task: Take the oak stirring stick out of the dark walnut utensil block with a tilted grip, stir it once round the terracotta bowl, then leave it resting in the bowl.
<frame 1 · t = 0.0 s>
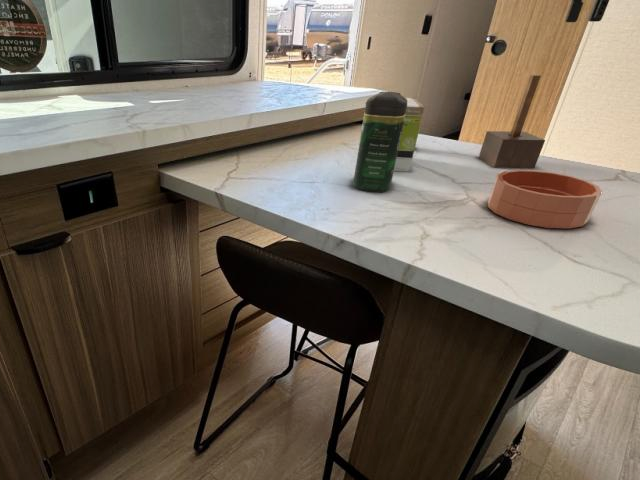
hand: (581, 21, 90), 30 cm above the table, tool pointing down, fingers open, 8 cm apart
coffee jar: (371, 187, 90), on the table
stirring stick: (519, 122, 100), in a hole of the utensil block
tea box: (385, 164, 106), on the table
utensil block: (504, 164, 105), on the table
bowl: (533, 214, 77), on the table
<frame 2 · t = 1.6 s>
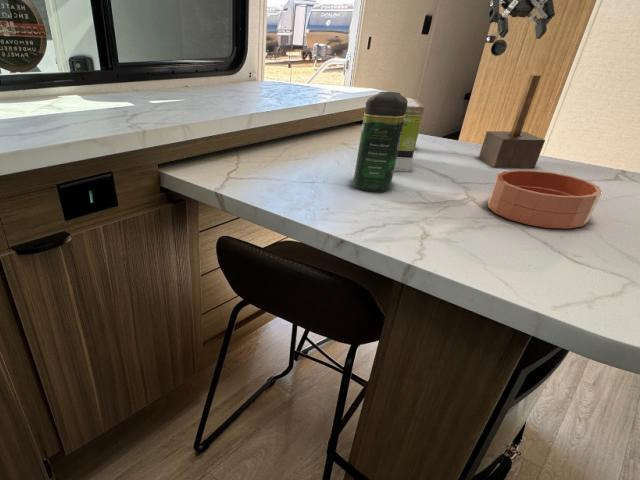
hand: (522, 35, 99), 27 cm above the table, tool tilted 45°, fingers open, 8 cm apart
nothing on the table moved.
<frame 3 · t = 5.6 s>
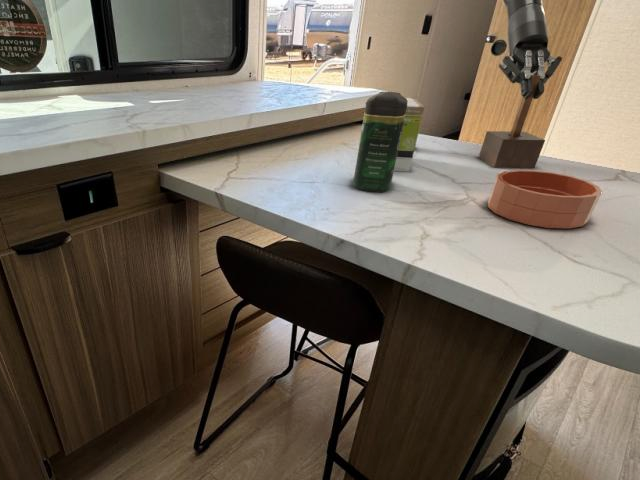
hand: (533, 96, 95), 16 cm above the table, tool tilted 45°, fingers closed on stirring stick, 1 cm apart
stirring stick: (519, 122, 100), in a hole of the utensil block, touching gripper
everything else where it was.
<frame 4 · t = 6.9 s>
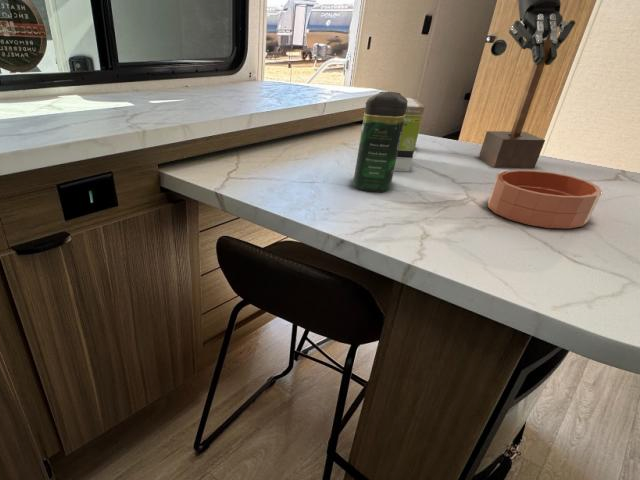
hand: (545, 61, 91), 23 cm above the table, tool tilted 45°, fingers closed on stirring stick, 1 cm apart
stirring stick: (530, 90, 96), point 17 cm above the table, touching gripper
everything else where it was.
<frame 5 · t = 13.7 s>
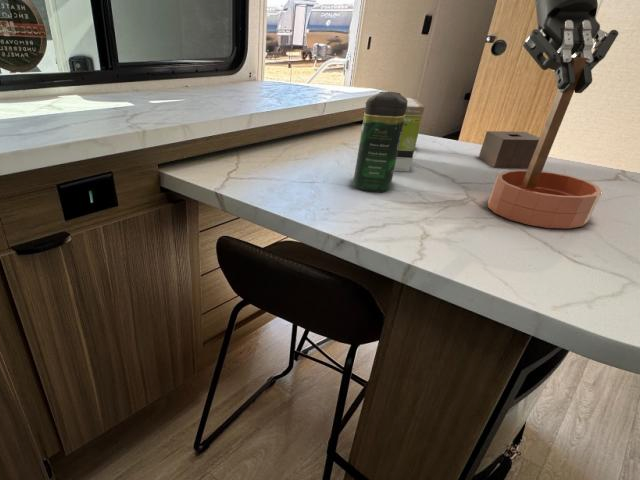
hand: (575, 89, 63), 21 cm above the table, tool tilted 45°, fingers closed on stirring stick, 1 cm apart
stirring stick: (551, 127, 68), point 15 cm above the table, touching gripper
everything else where it was.
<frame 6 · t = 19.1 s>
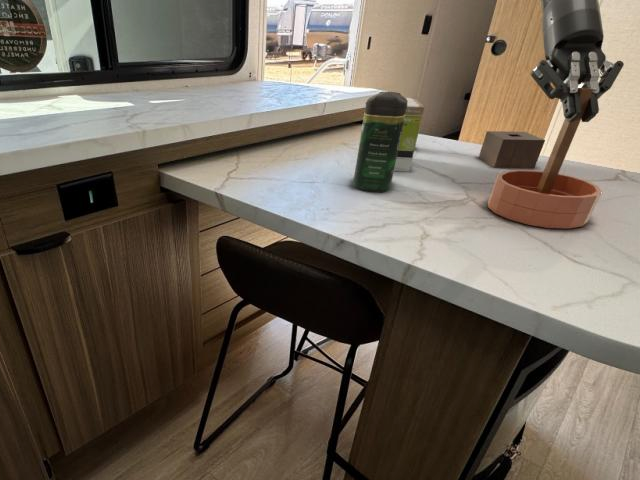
hand: (582, 118, 66), 17 cm above the table, tool tilted 45°, fingers closed on stirring stick, 1 cm apart
stirring stick: (558, 153, 71), in the bowl, point 11 cm above the table, touching gripper
everything else where it was.
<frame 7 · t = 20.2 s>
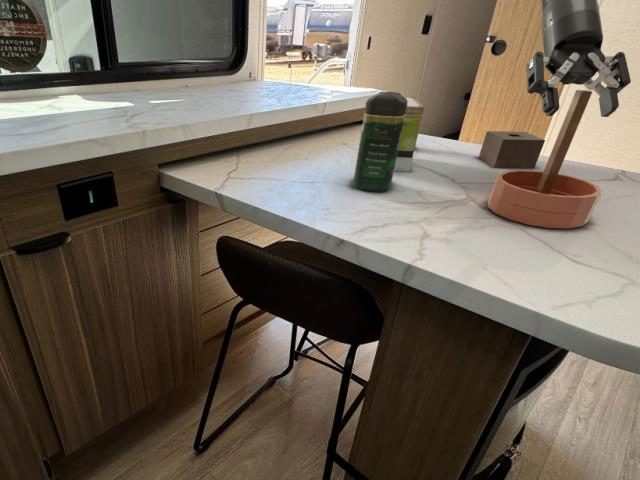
hand: (581, 113, 66), 18 cm above the table, tool tilted 45°, fingers open, 8 cm apart
stirring stick: (557, 155, 71), in the bowl, point 11 cm above the table
everything else where it was.
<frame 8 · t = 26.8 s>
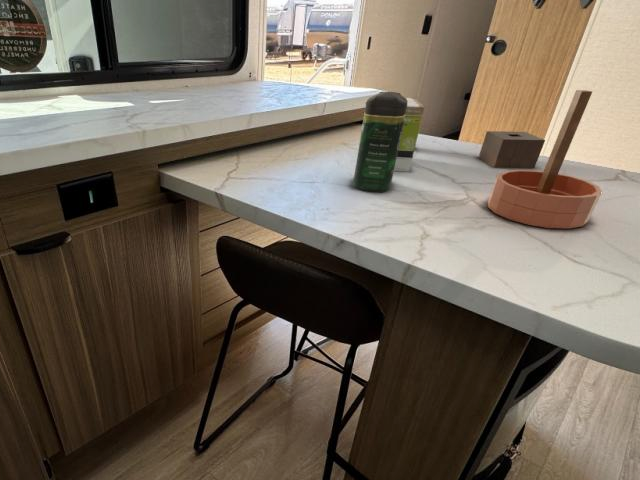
hand: (564, 5, 80), 33 cm above the table, tool tilted 45°, fingers open, 8 cm apart
nothing on the table moved.
at the end: stirring stick inside the target area in the bowl (0.1 cm from its centre), point 10.6 cm above the bowl's base; stirring stick moved 36.4 cm from its start; the gripper is holding nothing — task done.
